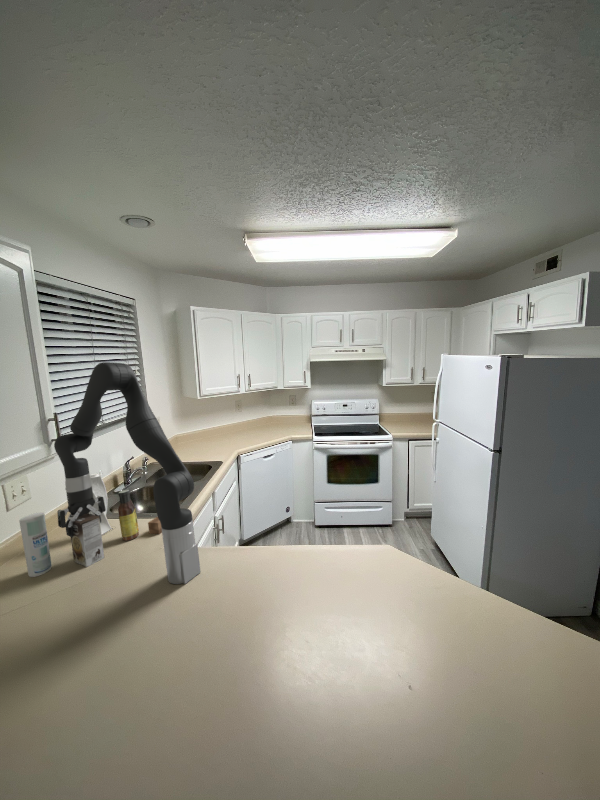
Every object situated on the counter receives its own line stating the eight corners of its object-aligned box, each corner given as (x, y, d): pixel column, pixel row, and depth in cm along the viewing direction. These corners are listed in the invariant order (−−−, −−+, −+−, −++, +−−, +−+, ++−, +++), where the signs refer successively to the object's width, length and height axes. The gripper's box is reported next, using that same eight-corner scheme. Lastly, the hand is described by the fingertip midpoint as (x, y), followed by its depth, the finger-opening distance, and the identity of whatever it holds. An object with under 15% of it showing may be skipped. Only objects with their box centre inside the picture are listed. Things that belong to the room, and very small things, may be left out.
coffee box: (73, 562, 108) (66, 519, 107) (92, 552, 113) (86, 512, 112) (86, 567, 103) (79, 523, 102) (105, 557, 109) (99, 515, 108)
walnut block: (167, 528, 128) (166, 517, 128) (159, 534, 123) (157, 523, 123) (157, 528, 129) (156, 517, 129) (149, 534, 124) (147, 522, 124)
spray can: (36, 578, 100) (27, 521, 99) (23, 576, 102) (14, 520, 100) (56, 566, 106) (48, 512, 105) (44, 564, 108) (35, 512, 107)
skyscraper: (118, 528, 133) (109, 467, 131) (101, 537, 125) (92, 473, 123) (103, 527, 135) (95, 467, 133) (86, 536, 127) (77, 473, 125)
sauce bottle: (142, 535, 123) (136, 489, 122) (126, 543, 118) (120, 495, 117) (134, 532, 127) (128, 487, 126) (119, 539, 122) (112, 492, 121)
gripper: (60, 496, 99) (67, 542, 100) (105, 481, 111) (110, 523, 112) (50, 493, 102) (56, 538, 104) (95, 479, 115) (100, 520, 116)
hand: (85, 530), depth 108 cm, fingers open, 8 cm apart
